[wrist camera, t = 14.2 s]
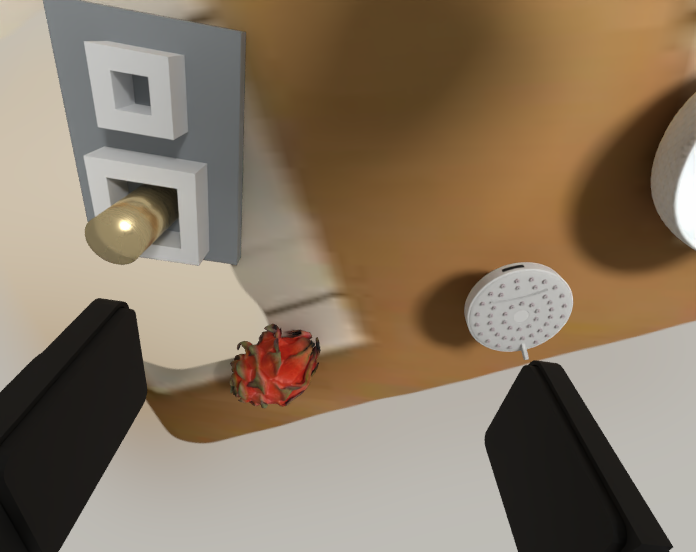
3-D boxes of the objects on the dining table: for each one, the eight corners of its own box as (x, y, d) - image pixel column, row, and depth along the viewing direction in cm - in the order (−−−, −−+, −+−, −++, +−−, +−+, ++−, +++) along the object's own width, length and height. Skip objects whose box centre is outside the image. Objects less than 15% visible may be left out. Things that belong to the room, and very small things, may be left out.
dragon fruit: (237, 353, 49) (315, 305, 47) (268, 414, 48) (349, 367, 46) (196, 364, 41) (288, 306, 39) (232, 438, 40) (329, 382, 38)
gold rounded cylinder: (136, 176, 34) (80, 211, 27) (181, 184, 35) (137, 221, 28) (140, 217, 36) (89, 259, 30) (184, 225, 37) (143, 268, 30)
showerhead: (477, 371, 38) (462, 290, 33) (460, 325, 44) (445, 250, 39) (578, 351, 37) (579, 263, 32) (546, 306, 43) (542, 226, 38)
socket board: (55, -5, 29) (9, -11, 25) (246, 32, 30) (229, 31, 26) (100, 236, 39) (73, 258, 35) (240, 257, 40) (228, 281, 36)
